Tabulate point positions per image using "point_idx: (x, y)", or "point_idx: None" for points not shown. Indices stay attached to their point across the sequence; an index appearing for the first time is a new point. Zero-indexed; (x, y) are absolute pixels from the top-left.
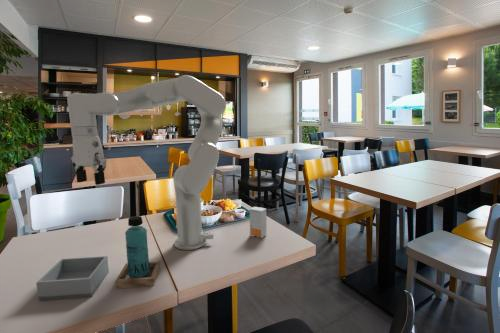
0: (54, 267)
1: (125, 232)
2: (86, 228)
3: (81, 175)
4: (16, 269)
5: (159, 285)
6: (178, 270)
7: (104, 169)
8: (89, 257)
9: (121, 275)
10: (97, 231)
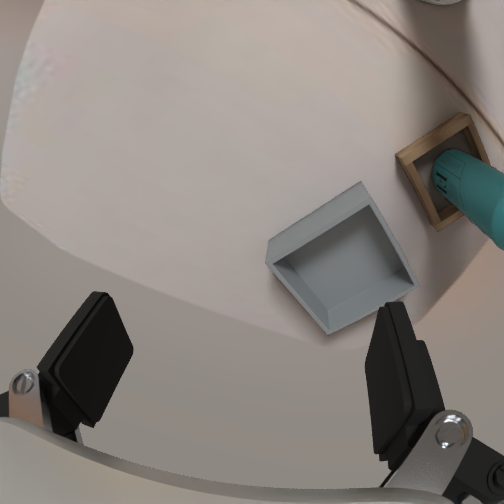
0: (297, 293)
1: (496, 243)
2: (34, 70)
3: (101, 370)
4: (150, 271)
5: None
6: (498, 110)
7: (470, 434)
8: (329, 225)
9: (435, 209)
10: (72, 53)
